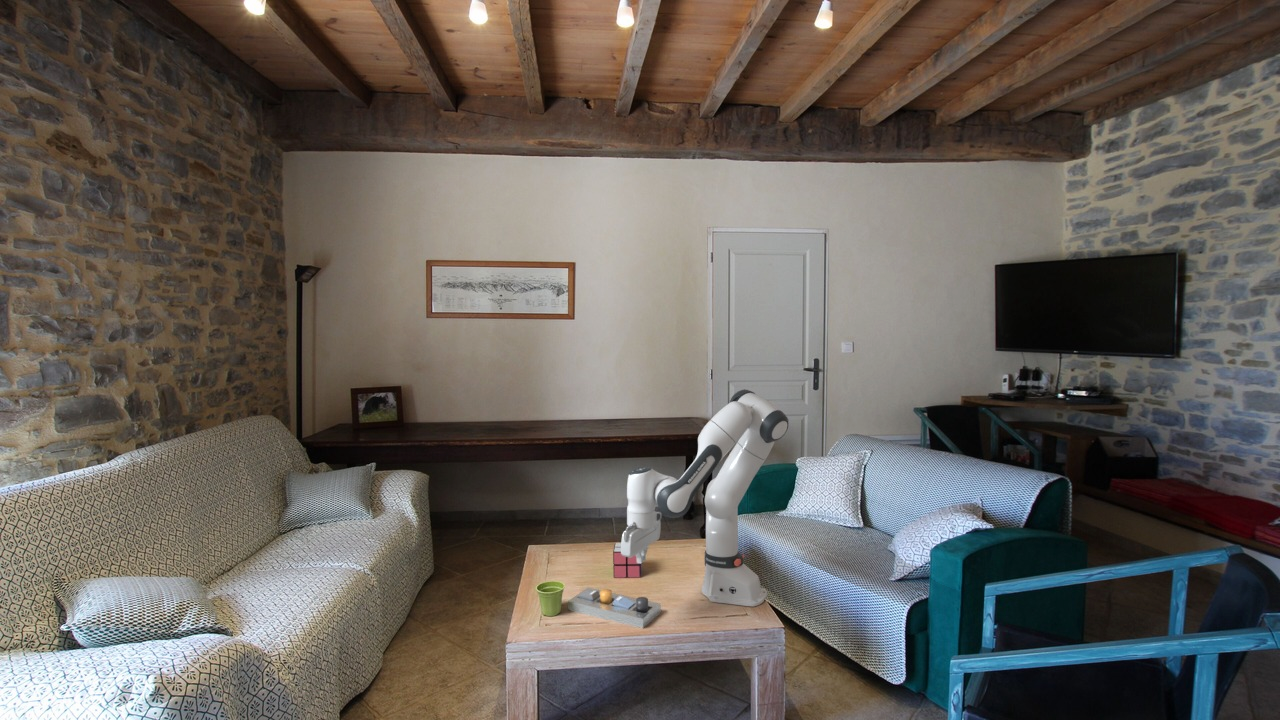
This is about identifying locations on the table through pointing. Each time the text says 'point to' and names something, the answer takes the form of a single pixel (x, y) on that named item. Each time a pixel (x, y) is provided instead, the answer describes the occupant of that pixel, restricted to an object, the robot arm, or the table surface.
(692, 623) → the table surface
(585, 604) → the panel
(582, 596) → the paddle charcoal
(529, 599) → the table surface
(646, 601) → the button black
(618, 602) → the rocker blue
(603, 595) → the button orange
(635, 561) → the puzzle cube
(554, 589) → the plant pot
